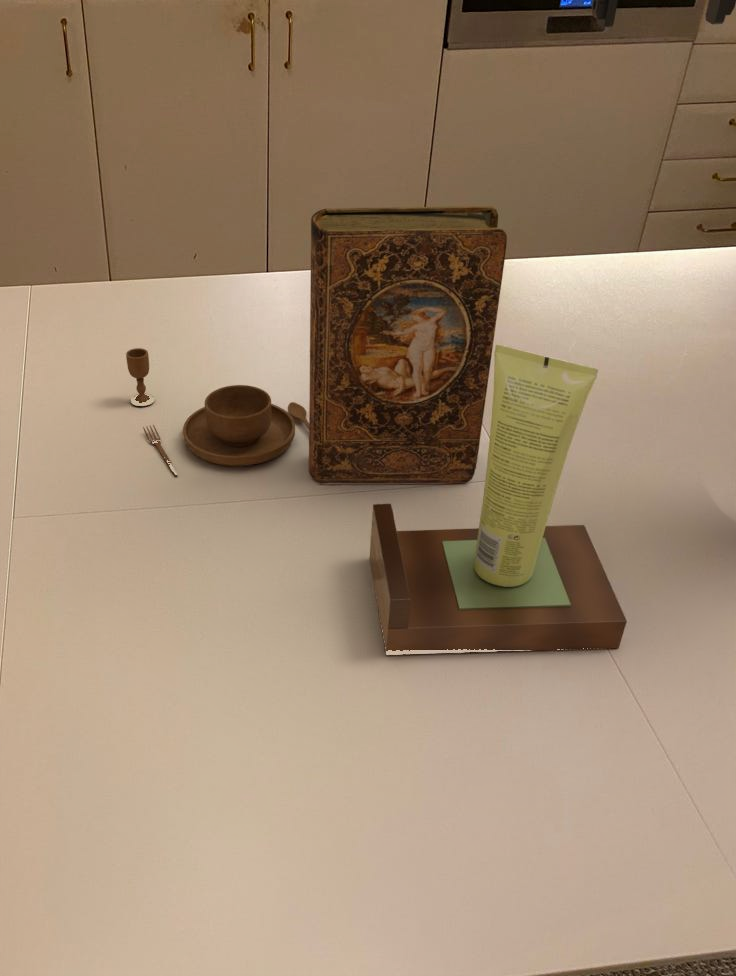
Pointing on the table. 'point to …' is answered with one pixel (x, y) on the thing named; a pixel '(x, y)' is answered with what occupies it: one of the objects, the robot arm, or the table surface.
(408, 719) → the table surface
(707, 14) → the robot arm
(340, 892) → the table surface
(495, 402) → the tube
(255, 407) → the place setting
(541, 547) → the brown wooden stand
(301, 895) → the table surface
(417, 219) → the book
